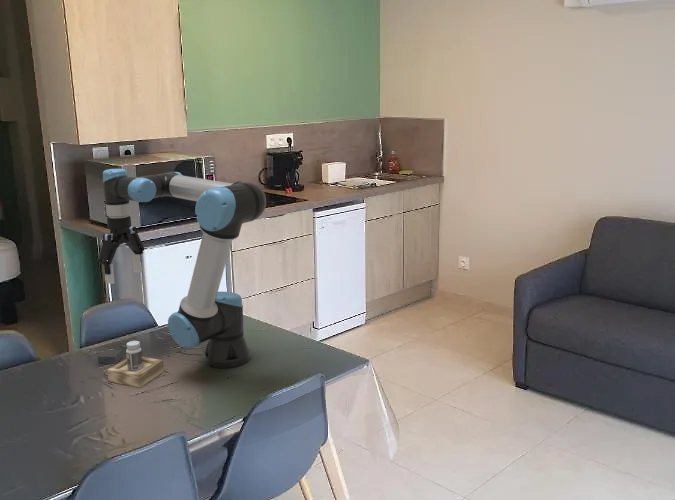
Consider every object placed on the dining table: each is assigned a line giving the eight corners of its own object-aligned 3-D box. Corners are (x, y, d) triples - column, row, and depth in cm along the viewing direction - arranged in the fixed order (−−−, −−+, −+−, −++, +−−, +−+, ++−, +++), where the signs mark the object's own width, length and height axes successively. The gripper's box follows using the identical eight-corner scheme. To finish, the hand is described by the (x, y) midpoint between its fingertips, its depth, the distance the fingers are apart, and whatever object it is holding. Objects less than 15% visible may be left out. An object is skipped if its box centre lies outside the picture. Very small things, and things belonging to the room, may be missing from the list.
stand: (163, 371, 208) (163, 360, 207) (139, 387, 197) (138, 375, 196) (133, 366, 212) (132, 355, 211) (108, 381, 201) (107, 369, 200)
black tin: (122, 357, 220) (122, 349, 219) (116, 365, 214) (115, 356, 213) (105, 357, 220) (104, 349, 219) (98, 365, 214) (97, 356, 213)
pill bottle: (145, 364, 206) (143, 340, 204) (139, 371, 201) (137, 346, 199) (131, 364, 206) (129, 339, 204) (125, 370, 202) (122, 345, 200)
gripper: (134, 208, 225) (139, 267, 230) (82, 222, 203) (89, 286, 208) (151, 210, 222) (156, 269, 227) (101, 224, 200) (107, 289, 205)
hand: (124, 277), depth 218 cm, fingers open, 13 cm apart
